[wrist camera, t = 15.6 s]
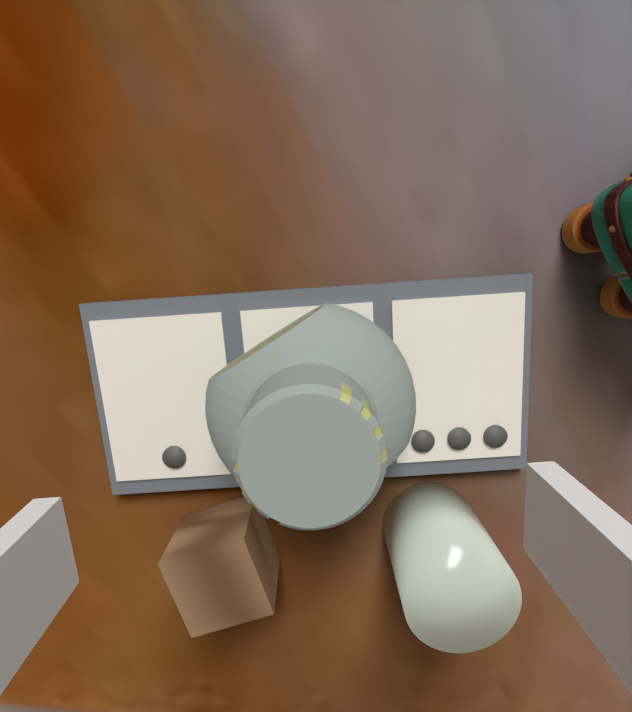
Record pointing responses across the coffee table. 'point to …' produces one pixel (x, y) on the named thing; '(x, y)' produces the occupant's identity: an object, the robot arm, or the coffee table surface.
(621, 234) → the binoculars
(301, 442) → the air freshener
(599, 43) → the coffee table surface
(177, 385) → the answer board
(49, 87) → the coffee table surface
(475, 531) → the pale green capsule
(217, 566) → the walnut block
